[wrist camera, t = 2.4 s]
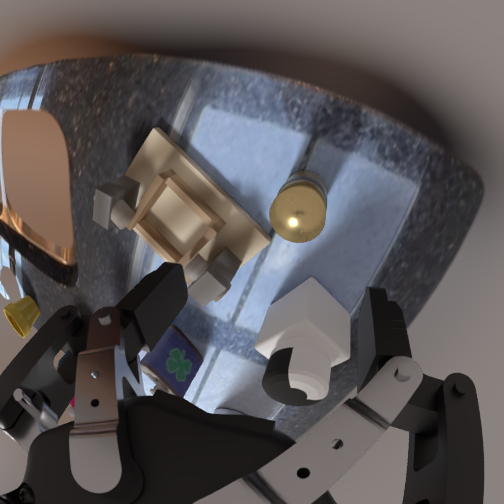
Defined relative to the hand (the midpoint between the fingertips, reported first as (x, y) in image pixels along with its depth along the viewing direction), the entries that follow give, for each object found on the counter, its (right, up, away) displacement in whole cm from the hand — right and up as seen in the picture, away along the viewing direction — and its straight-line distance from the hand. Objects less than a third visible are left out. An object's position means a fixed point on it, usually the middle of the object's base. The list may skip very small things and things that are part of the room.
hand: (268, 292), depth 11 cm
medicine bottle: (+6, -5, +20) cm, 22 cm away
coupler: (+4, +7, +13) cm, 16 cm away
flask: (-11, -13, +30) cm, 35 cm away
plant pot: (-64, -14, +47) cm, 81 cm away
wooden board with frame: (-9, +6, +18) cm, 21 cm away
